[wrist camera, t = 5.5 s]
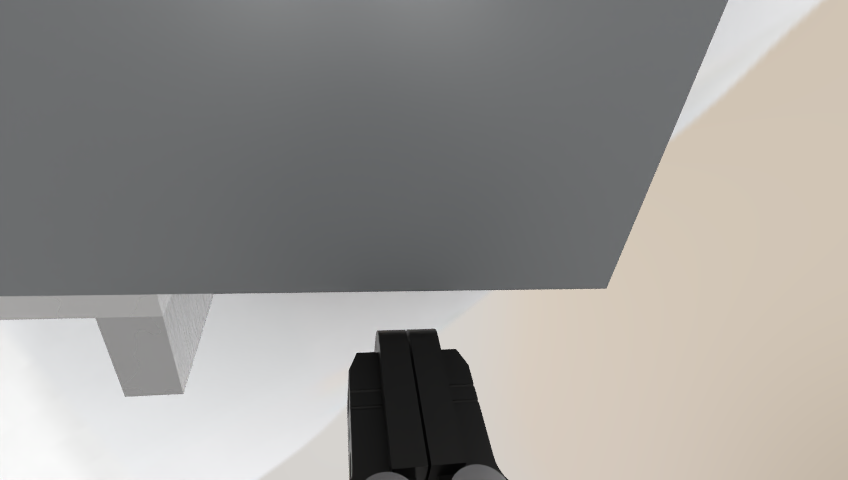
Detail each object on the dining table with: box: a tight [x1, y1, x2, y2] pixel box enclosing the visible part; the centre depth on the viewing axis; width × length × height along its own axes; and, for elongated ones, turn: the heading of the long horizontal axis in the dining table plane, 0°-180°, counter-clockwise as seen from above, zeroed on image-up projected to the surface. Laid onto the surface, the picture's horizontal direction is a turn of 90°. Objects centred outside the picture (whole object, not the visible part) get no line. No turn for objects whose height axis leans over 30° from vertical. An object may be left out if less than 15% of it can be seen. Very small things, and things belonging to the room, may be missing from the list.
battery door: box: [0, 294, 213, 397], centre depth 14 cm, size 4×10×7 cm, turn 84°
